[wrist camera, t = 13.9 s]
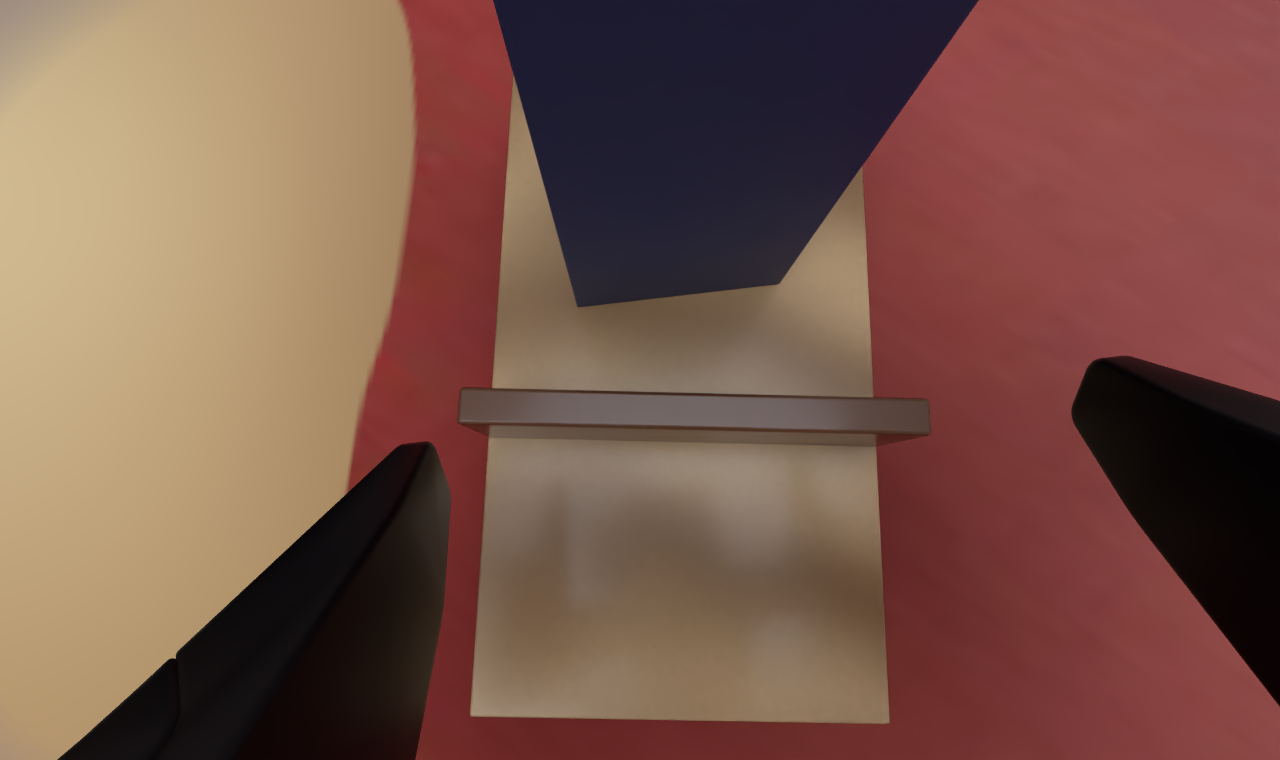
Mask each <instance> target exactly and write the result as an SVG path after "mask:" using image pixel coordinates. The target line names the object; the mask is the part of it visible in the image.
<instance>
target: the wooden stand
mask: <svg viewBox="0 0 1280 760" xmlns="http://www.w3.org/2000/svg"><path fill="white" fill-rule="evenodd" d="M457 421H458V423H459V424H461V425H463V426H465V427H468V428H470V429H472V430H475V431H477V432H479V433H482V434H484V435H486V436H488V437H489V440H488V455H487V470H486V484H485V499H484V514H483V529H482V544H481V558H480V573H479V588H478V603H477V618H476V632H475V647H474V662H473V677H472V692H471V707H470V715H471V716H472V717H523V718H580V719H636V720H692V721H748V722H804V723H860V724H889V722H890V721H889V701H888V680H887V660H886V639H885V619H884V599H883V578H882V558H881V537H880V517H879V497H878V476H877V456H876V446H880V445H885V444H890V443H894V442H899V441H904V440H909V439H914V438H919V437H923V436H927V435H930V433H931V425H930V410H929V401H928V400H927V399H924V398H883V397H874V395H873V374H872V354H871V334H870V313H869V293H868V272H867V252H866V232H865V211H864V191H863V171H862V167H861V168H860V170H859V171H858V173H857V174H856V176H855V177H854V178H853V180H852V181H851V183H850V184H849V185H848V187H847V188H846V190H845V191H844V193H843V194H842V195H841V197H840V198H839V200H838V201H837V203H836V204H835V205H834V207H833V208H832V210H831V211H830V213H829V214H828V215H827V217H826V218H825V220H824V221H823V222H822V224H821V225H820V227H819V228H818V230H817V231H816V232H815V234H814V235H813V237H812V238H811V240H810V241H809V242H808V244H807V245H806V247H805V248H804V250H803V251H802V252H801V254H800V255H799V257H798V258H797V259H796V261H795V262H794V264H793V265H792V267H791V268H790V269H789V271H788V272H787V274H786V275H785V277H784V278H783V279H782V281H781V282H780V284H776V285H767V286H758V287H750V288H741V289H733V290H724V291H715V292H707V293H698V294H689V295H681V296H672V297H663V298H655V299H646V300H637V301H629V302H620V303H611V304H603V305H594V306H586V307H577V304H576V301H575V297H574V293H573V290H572V286H571V282H570V279H569V275H568V272H567V268H566V264H565V261H564V257H563V253H562V250H561V246H560V242H559V239H558V235H557V231H556V228H555V224H554V220H553V217H552V213H551V209H550V206H549V202H548V198H547V195H546V191H545V188H544V184H543V180H542V177H541V173H540V169H539V166H538V162H537V158H536V155H535V151H534V147H533V144H532V140H531V136H530V133H529V129H528V125H527V122H526V118H525V114H524V111H523V107H522V104H521V100H520V96H519V93H518V89H517V85H516V82H515V78H514V74H513V85H512V99H511V114H510V129H509V144H508V159H507V173H506V188H505V203H504V218H503V233H502V247H501V262H500V277H499V292H498V307H497V322H496V336H495V351H494V366H493V381H492V388H475V387H464V388H461V390H460V393H459V405H458V418H457Z"/></svg>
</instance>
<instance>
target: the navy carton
mask: <svg viewBox="0 0 1280 760" xmlns="http://www.w3.org/2000/svg"><path fill="white" fill-rule="evenodd" d="M493 1H494V5H495V9H496V12H497V16H498V20H499V23H500V27H501V30H502V34H503V38H504V41H505V45H506V49H507V52H508V56H509V60H510V63H511V67H512V71H513V74H514V78H515V82H516V85H517V89H518V93H519V96H520V100H521V104H522V107H523V111H524V114H525V118H526V122H527V125H528V129H529V133H530V136H531V140H532V144H533V147H534V151H535V155H536V158H537V162H538V166H539V169H540V173H541V177H542V180H543V184H544V188H545V191H546V195H547V198H548V202H549V206H550V209H551V213H552V217H553V220H554V224H555V228H556V231H557V235H558V239H559V242H560V246H561V250H562V253H563V257H564V261H565V264H566V268H567V272H568V275H569V279H570V282H571V286H572V290H573V293H574V297H575V301H576V304H577V307H586V306H594V305H603V304H611V303H620V302H629V301H637V300H646V299H655V298H663V297H672V296H681V295H689V294H698V293H707V292H715V291H724V290H733V289H741V288H750V287H758V286H767V285H776V284H780V282H781V281H782V279H783V278H784V277H785V275H786V274H787V272H788V271H789V269H790V268H791V267H792V265H793V264H794V262H795V261H796V259H797V258H798V257H799V255H800V254H801V252H802V251H803V250H804V248H805V247H806V245H807V244H808V242H809V241H810V240H811V238H812V237H813V235H814V234H815V232H816V231H817V230H818V228H819V227H820V225H821V224H822V222H823V221H824V220H825V218H826V217H827V215H828V214H829V213H830V211H831V210H832V208H833V207H834V205H835V204H836V203H837V201H838V200H839V198H840V197H841V195H842V194H843V193H844V191H845V190H846V188H847V187H848V185H849V184H850V183H851V181H852V180H853V178H854V177H855V176H856V174H857V173H858V171H859V170H860V168H861V167H862V166H863V164H864V163H865V161H866V160H867V158H868V157H869V156H870V154H871V153H872V151H873V150H874V148H875V147H876V146H877V144H878V143H879V141H880V140H881V138H882V137H883V136H884V134H885V133H886V131H887V130H888V129H889V127H890V126H891V124H892V123H893V121H894V120H895V119H896V117H897V116H898V114H899V113H900V111H901V110H902V109H903V107H904V106H905V104H906V103H907V101H908V100H909V99H910V97H911V96H912V94H913V93H914V92H915V90H916V89H917V87H918V86H919V84H920V83H921V82H922V80H923V79H924V77H925V76H926V74H927V73H928V72H929V70H930V69H931V67H932V66H933V64H934V63H935V62H936V60H937V59H938V57H939V56H940V55H941V53H942V52H943V50H944V49H945V47H946V46H947V45H948V43H949V42H950V40H951V39H952V37H953V36H954V35H955V33H956V32H957V30H958V29H959V27H960V26H961V25H962V23H963V22H964V20H965V19H966V18H967V16H968V15H969V13H970V12H971V10H972V9H973V8H974V6H975V5H976V3H977V2H978V0H493Z"/></svg>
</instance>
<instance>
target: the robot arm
mask: <svg viewBox="0 0 1280 760" xmlns="http://www.w3.org/2000/svg"><path fill="white" fill-rule="evenodd" d="M1071 414H1072V419H1073V422H1074V425H1075V426H1076V428H1077V430H1078V431H1079V433H1080V434H1081V436H1082V438H1083V439H1084V441H1085V442H1086V444H1087V446H1088V447H1089V449H1090V450H1091V452H1092V453H1093V455H1094V457H1095V458H1096V460H1097V461H1098V463H1099V465H1100V466H1101V468H1102V469H1103V471H1104V473H1105V474H1106V476H1107V477H1108V479H1109V481H1110V482H1111V484H1112V485H1113V487H1114V488H1115V490H1116V492H1117V493H1118V495H1119V496H1120V498H1121V500H1122V501H1123V503H1124V504H1125V506H1126V507H1127V509H1128V510H1129V512H1130V513H1131V515H1132V516H1133V517H1134V519H1135V520H1136V522H1137V523H1138V524H1139V526H1140V527H1141V528H1142V530H1143V531H1144V532H1145V534H1146V535H1147V536H1148V537H1149V539H1150V540H1151V541H1152V543H1153V544H1154V545H1155V546H1156V548H1157V549H1158V550H1159V552H1160V553H1161V554H1162V555H1163V557H1164V558H1165V559H1166V561H1167V562H1168V563H1169V564H1170V566H1171V567H1172V568H1173V570H1174V571H1175V572H1176V574H1177V575H1178V576H1179V577H1180V579H1181V580H1182V581H1183V583H1184V584H1185V585H1186V586H1187V588H1188V589H1189V590H1190V592H1191V593H1192V594H1193V595H1194V597H1195V598H1196V599H1197V601H1198V602H1199V603H1200V604H1201V606H1202V607H1203V608H1204V610H1205V611H1206V612H1207V613H1208V615H1209V616H1210V617H1211V619H1212V620H1213V621H1214V622H1215V624H1216V625H1217V626H1218V628H1219V629H1220V630H1221V632H1222V633H1223V634H1224V635H1225V637H1226V638H1227V639H1228V641H1229V642H1230V643H1231V644H1232V646H1233V647H1234V648H1235V650H1236V651H1237V652H1238V653H1239V655H1240V656H1241V657H1242V659H1243V660H1244V661H1245V662H1246V664H1247V665H1248V666H1249V668H1250V669H1251V670H1252V671H1253V673H1254V674H1255V675H1256V677H1257V678H1258V679H1259V680H1260V682H1261V683H1262V684H1263V686H1264V687H1265V688H1266V690H1267V691H1268V692H1269V693H1270V695H1271V696H1272V697H1273V699H1274V700H1275V701H1276V702H1277V704H1278V705H1279V706H1280V401H1278V400H1275V399H1272V398H1268V397H1265V396H1262V395H1258V394H1255V393H1252V392H1248V391H1245V390H1242V389H1238V388H1235V387H1231V386H1228V385H1225V384H1221V383H1218V382H1215V381H1211V380H1208V379H1205V378H1201V377H1198V376H1195V375H1191V374H1188V373H1185V372H1181V371H1178V370H1175V369H1171V368H1168V367H1165V366H1161V365H1158V364H1155V363H1151V362H1148V361H1144V360H1141V359H1138V358H1134V357H1131V356H1116V357H1108V358H1100V359H1097V360H1095V361H1093V362H1092V363H1091V364H1090V365H1089V366H1088V368H1087V369H1086V372H1085V374H1084V377H1083V379H1082V382H1081V385H1080V387H1079V390H1078V392H1077V395H1076V397H1075V400H1074V402H1073V405H1072V411H1071ZM450 506H451V499H450V490H449V486H448V483H447V480H446V477H445V474H444V471H443V468H442V465H441V462H440V460H439V457H438V454H437V451H436V449H435V447H434V446H433V444H432V443H430V442H417V443H409V444H403V445H400V446H398V447H397V448H395V449H394V450H393V451H392V452H391V453H390V454H389V455H388V456H387V457H386V458H385V459H383V460H382V461H381V462H380V463H379V464H378V465H377V466H376V467H375V468H374V469H373V470H372V471H371V472H370V473H368V474H367V475H366V476H365V477H364V478H363V479H362V480H361V481H360V482H359V483H358V484H357V485H356V486H355V487H353V488H352V489H351V490H350V491H349V492H348V493H347V494H346V495H345V496H344V497H343V498H342V499H341V500H340V501H338V502H337V503H336V504H335V505H334V506H333V507H332V508H331V509H330V510H329V511H328V512H327V513H326V514H325V515H323V516H322V517H321V518H320V519H319V520H318V521H317V522H316V523H315V524H314V525H313V526H312V527H311V528H310V529H308V530H307V531H306V532H305V533H304V534H303V535H302V536H301V537H300V538H299V539H298V540H297V541H296V542H295V543H293V544H292V545H291V546H290V547H289V548H288V549H287V550H286V551H285V552H284V553H283V554H282V555H281V556H279V557H278V558H277V559H276V560H275V561H274V562H273V563H272V564H271V565H270V566H269V567H268V568H267V569H266V570H265V571H263V572H262V573H261V574H260V575H259V576H258V577H257V578H256V579H255V580H254V581H253V582H252V583H250V585H248V586H247V587H246V588H245V589H244V590H243V591H242V592H241V593H240V594H239V595H238V596H237V597H235V599H233V600H232V601H231V602H230V603H229V604H228V605H227V606H226V607H225V608H224V609H223V610H222V611H221V612H219V613H218V614H217V615H216V616H215V617H214V618H213V619H212V620H211V621H210V622H209V623H208V624H207V625H205V627H204V628H202V629H201V630H200V631H199V632H198V633H197V634H196V635H195V636H194V637H193V638H191V639H190V641H188V642H187V643H186V644H185V645H184V646H183V647H182V648H181V649H180V650H179V651H178V652H177V653H176V659H173V658H172V659H169V660H168V661H167V662H165V663H164V664H163V665H162V666H161V667H160V668H159V669H158V670H157V671H156V672H155V673H154V674H153V675H151V676H150V677H149V678H148V679H147V680H146V681H145V682H144V683H143V684H142V685H141V686H140V687H139V688H138V689H136V690H135V691H134V692H133V693H132V694H131V695H130V696H129V697H128V698H127V699H125V700H124V701H123V702H122V703H121V704H120V705H119V706H118V707H117V708H115V709H114V710H113V711H112V712H111V713H110V714H109V715H108V716H107V717H106V718H104V719H103V720H102V721H101V722H100V723H99V724H98V725H97V726H95V727H94V728H93V729H92V730H91V731H90V732H89V733H88V734H87V735H86V736H84V737H83V738H82V739H81V740H80V741H79V742H78V743H76V744H75V745H74V746H73V747H72V748H71V749H69V750H68V751H67V752H66V753H65V754H63V755H62V756H61V757H60V758H59V759H58V760H415V759H416V753H417V748H418V743H419V737H420V732H421V727H422V721H423V716H424V711H425V705H426V700H427V695H428V689H429V684H430V679H431V673H432V668H433V663H434V658H435V652H436V647H437V642H438V636H439V631H440V626H441V619H442V613H443V606H444V595H445V582H446V567H447V551H448V536H449V521H450Z"/></svg>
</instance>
